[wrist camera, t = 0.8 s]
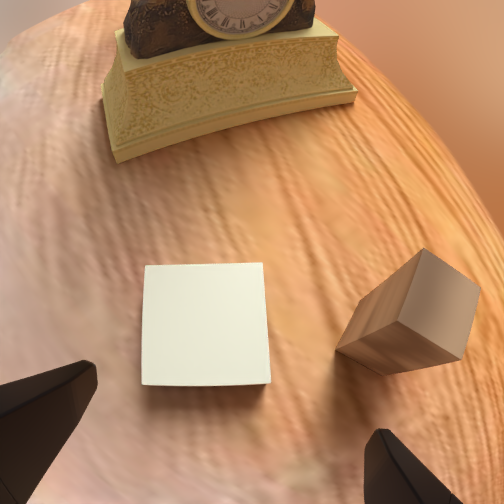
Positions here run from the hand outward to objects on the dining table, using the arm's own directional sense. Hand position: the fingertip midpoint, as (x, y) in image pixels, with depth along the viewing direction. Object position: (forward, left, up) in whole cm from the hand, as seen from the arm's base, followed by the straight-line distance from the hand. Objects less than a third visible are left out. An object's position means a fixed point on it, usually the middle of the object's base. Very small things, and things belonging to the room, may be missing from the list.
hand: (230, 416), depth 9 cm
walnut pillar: (-7, -9, -14) cm, 18 cm away
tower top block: (+4, -3, -12) cm, 13 cm away
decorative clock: (+18, -26, -14) cm, 35 cm away
